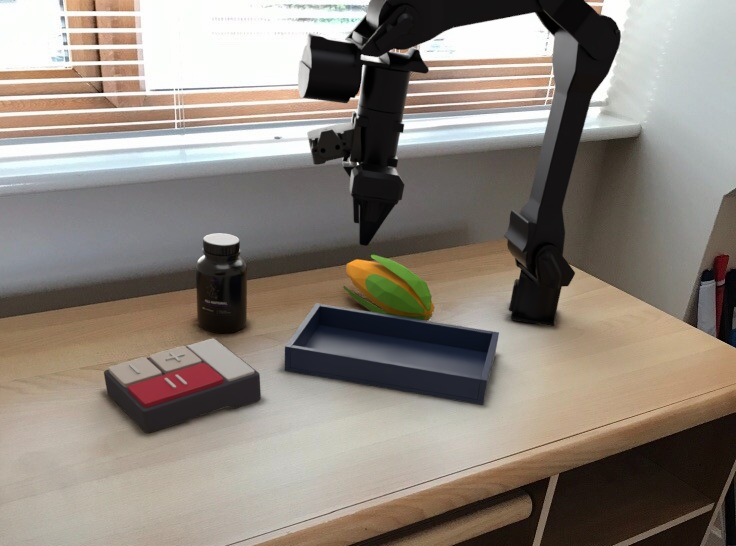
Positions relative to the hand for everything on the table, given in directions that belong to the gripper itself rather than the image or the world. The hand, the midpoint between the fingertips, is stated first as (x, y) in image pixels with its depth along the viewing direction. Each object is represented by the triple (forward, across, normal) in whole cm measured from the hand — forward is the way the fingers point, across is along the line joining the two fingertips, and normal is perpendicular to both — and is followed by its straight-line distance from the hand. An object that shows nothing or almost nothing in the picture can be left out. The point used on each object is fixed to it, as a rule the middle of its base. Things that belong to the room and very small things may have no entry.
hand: (360, 233), depth 113 cm
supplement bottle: (+15, +1, -17) cm, 23 cm away
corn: (+13, -5, +6) cm, 15 cm away
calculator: (+16, +22, -21) cm, 34 cm away
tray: (+13, +11, +6) cm, 18 cm away
